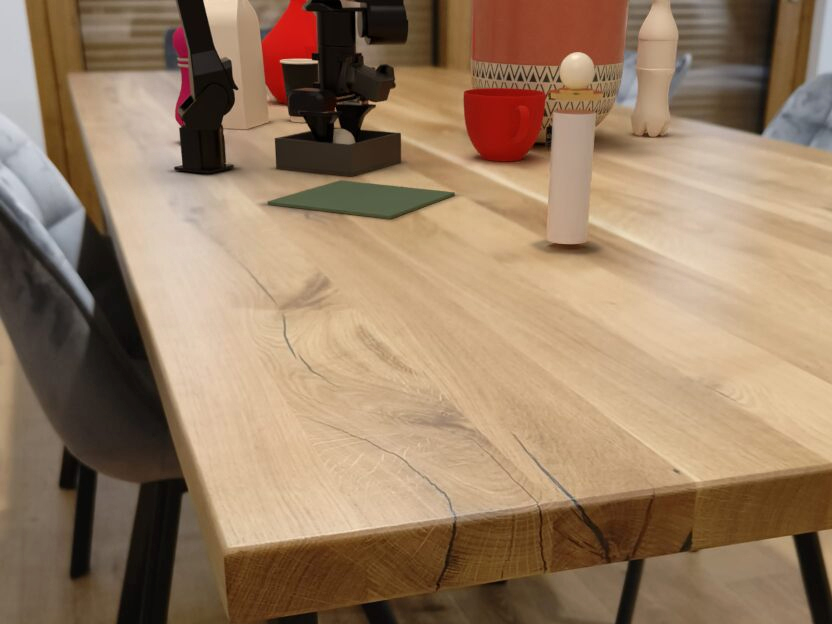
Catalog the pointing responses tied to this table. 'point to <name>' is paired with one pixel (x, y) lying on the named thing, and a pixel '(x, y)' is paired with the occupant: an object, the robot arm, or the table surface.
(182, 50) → the pepper mill
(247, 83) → the milk
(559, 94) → the perfume bottle
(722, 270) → the table surface
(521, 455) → the table surface
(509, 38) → the planter
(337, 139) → the mushroom
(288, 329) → the table surface
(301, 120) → the dixie cup
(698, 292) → the table surface
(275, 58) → the vase
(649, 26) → the water bottle
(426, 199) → the placemat
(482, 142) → the ceramic cup
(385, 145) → the black box
